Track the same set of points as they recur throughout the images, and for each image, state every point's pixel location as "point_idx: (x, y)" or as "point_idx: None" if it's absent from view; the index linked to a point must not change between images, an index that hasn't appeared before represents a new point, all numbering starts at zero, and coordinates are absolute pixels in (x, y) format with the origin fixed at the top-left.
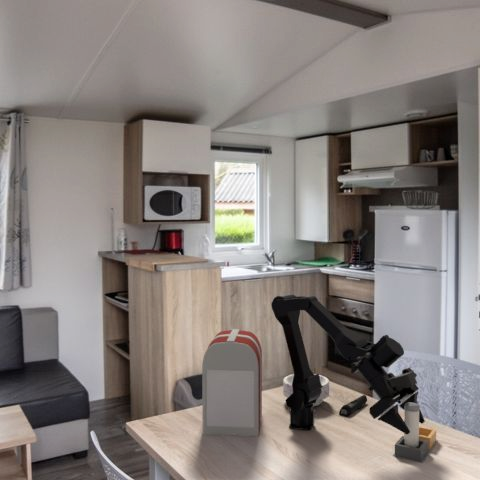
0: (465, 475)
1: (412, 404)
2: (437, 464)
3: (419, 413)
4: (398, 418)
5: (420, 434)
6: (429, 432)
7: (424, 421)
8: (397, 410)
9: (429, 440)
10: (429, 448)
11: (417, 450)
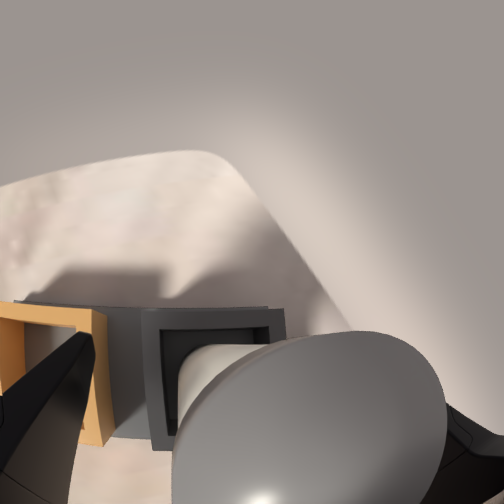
0: (236, 170)
1: (312, 494)
2: (204, 264)
3: (60, 386)
4: (467, 421)
5: (17, 376)
6: (6, 333)
7: (86, 332)
8: (501, 449)
9: (95, 314)
10: (106, 317)
11: (283, 326)
